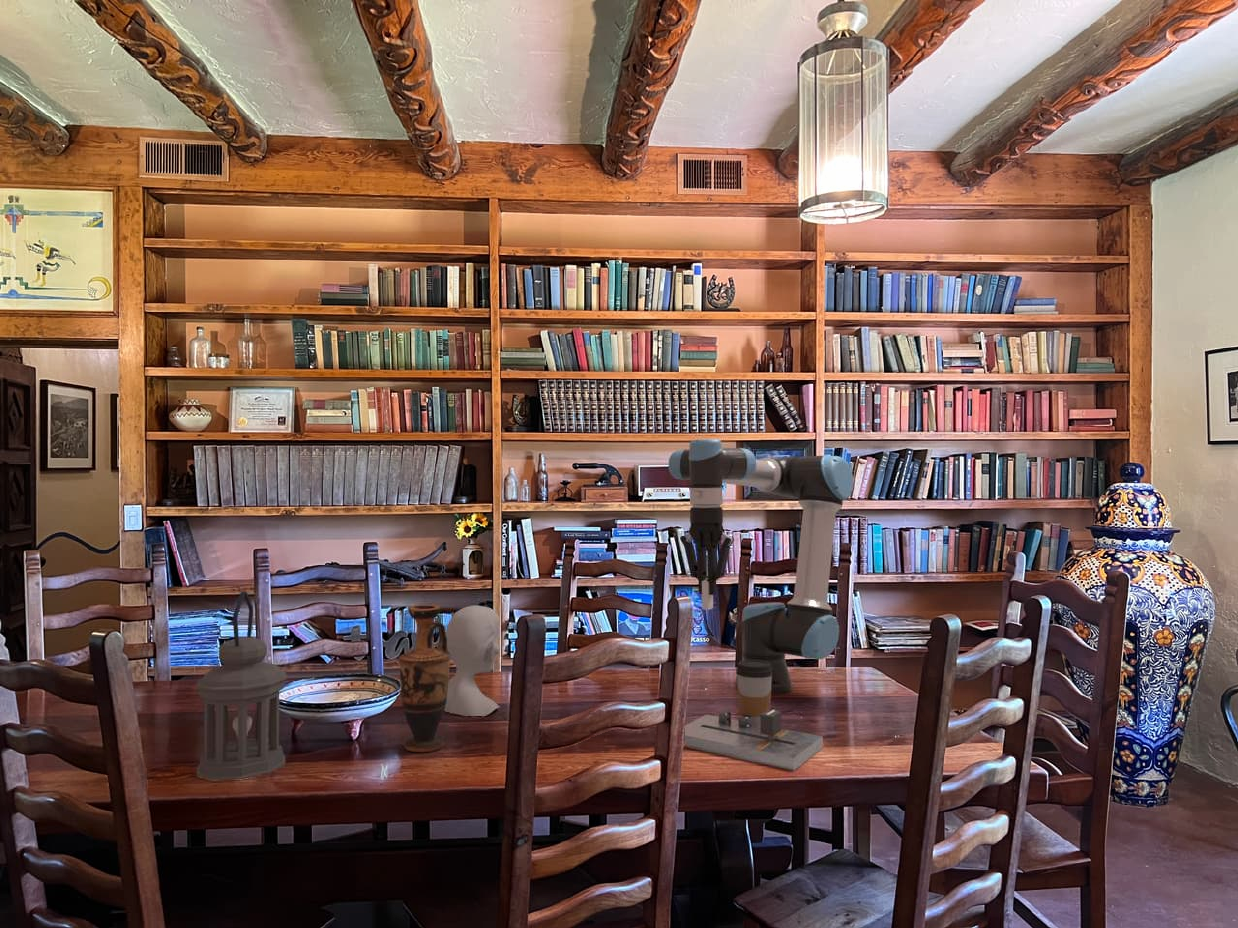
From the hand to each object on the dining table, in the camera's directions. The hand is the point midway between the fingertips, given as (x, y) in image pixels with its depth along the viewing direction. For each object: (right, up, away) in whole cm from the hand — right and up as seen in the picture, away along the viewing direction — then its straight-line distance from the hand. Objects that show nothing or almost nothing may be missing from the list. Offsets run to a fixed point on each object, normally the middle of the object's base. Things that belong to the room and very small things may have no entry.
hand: (707, 608), depth 184 cm
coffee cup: (+11, -28, 0) cm, 30 cm away
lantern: (-96, -28, -24) cm, 103 cm away
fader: (+12, -28, -15) cm, 33 cm away
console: (+7, -28, -11) cm, 31 cm away
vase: (-62, -28, -12) cm, 69 cm away
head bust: (-58, -28, +21) cm, 68 cm away
